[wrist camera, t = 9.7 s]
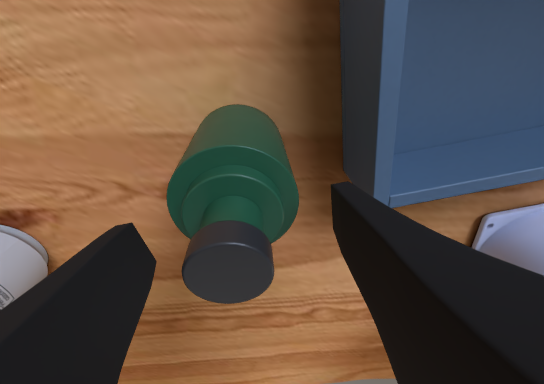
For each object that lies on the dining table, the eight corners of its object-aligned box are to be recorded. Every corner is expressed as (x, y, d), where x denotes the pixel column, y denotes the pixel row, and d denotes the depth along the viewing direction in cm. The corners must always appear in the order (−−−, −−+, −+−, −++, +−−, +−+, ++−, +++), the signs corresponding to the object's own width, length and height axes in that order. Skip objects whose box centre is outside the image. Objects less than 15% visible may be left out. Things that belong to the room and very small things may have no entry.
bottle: (287, 177, 16) (324, 312, 8) (210, 192, 16) (175, 339, 8) (274, 95, 13) (311, 182, 5) (181, 114, 14) (87, 225, 6)
